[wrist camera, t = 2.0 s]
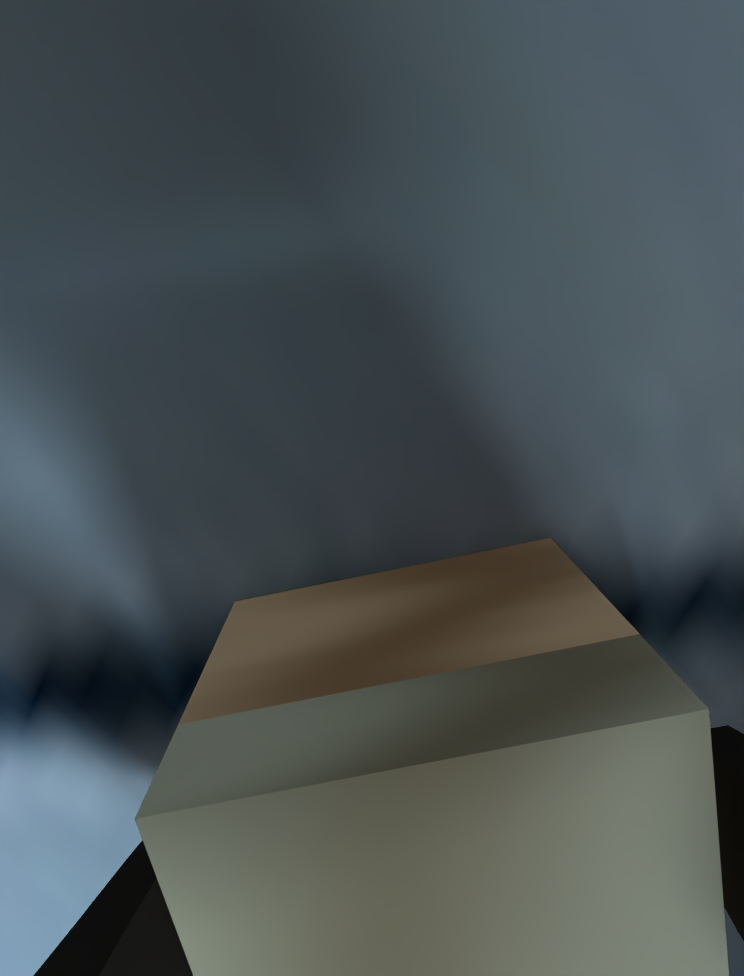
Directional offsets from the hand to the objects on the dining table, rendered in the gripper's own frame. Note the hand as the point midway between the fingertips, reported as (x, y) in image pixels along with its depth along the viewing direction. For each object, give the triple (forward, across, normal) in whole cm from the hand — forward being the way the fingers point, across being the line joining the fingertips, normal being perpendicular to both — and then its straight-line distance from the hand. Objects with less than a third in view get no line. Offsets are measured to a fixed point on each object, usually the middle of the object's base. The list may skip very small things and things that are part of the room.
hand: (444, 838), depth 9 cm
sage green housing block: (+2, 0, 0) cm, 2 cm away
